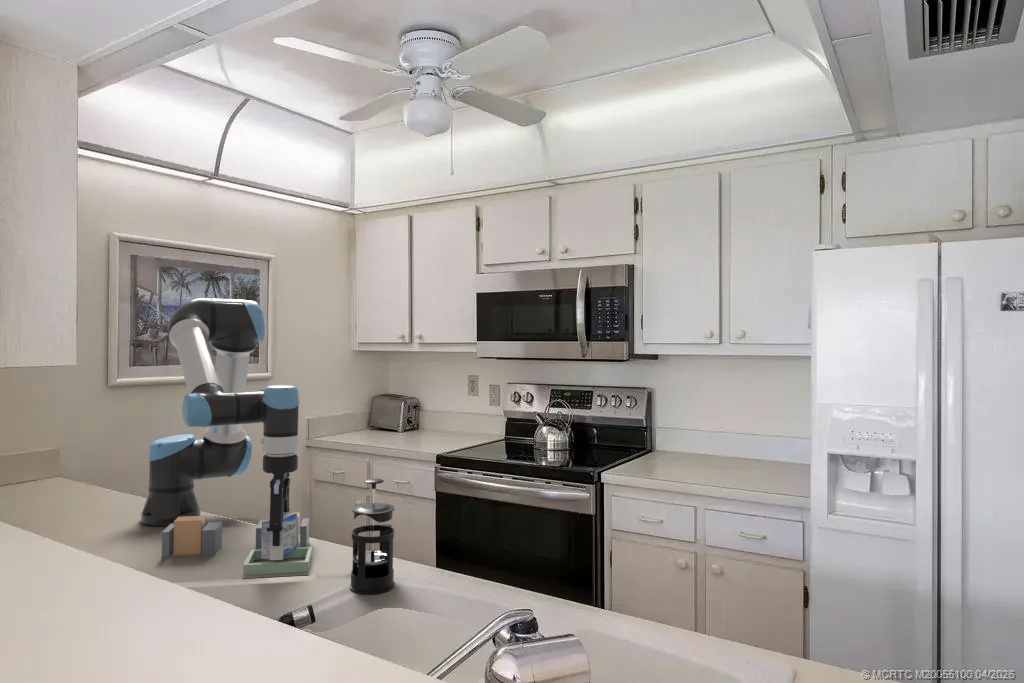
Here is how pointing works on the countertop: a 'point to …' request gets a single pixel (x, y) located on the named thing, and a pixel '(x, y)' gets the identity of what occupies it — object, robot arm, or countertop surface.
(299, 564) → the tray
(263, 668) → the countertop surface
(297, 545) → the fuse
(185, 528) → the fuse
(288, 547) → the medicine box
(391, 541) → the french press
